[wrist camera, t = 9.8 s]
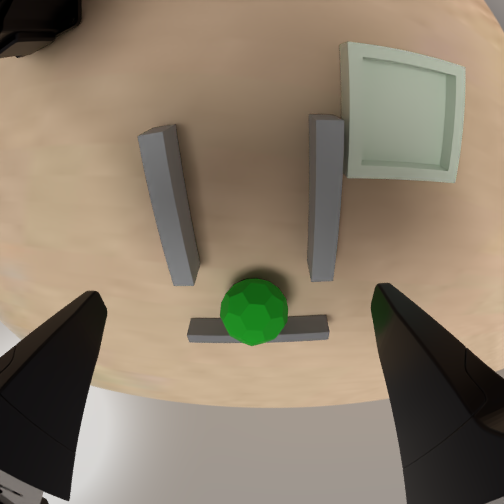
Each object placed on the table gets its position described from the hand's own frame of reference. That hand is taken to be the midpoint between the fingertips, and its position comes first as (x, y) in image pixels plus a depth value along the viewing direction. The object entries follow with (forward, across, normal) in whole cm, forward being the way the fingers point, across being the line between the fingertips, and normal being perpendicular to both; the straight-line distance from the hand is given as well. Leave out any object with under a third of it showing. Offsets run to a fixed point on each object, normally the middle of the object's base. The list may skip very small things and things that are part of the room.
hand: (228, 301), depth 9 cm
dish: (+11, -10, -4) cm, 15 cm away
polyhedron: (+11, 0, +10) cm, 15 cm away
